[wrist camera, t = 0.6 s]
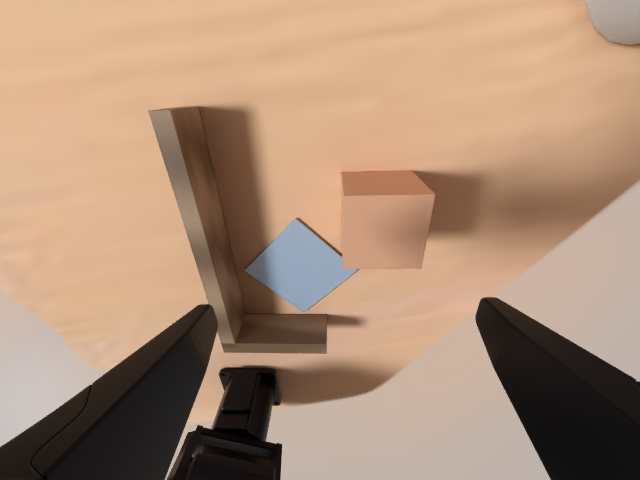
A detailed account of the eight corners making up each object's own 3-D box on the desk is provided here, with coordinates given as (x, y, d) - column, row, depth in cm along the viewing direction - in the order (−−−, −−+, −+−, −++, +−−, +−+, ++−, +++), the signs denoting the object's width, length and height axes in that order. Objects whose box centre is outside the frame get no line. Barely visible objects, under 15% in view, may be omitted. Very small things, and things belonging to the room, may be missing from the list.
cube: (403, 232, 21) (421, 268, 17) (340, 232, 22) (343, 269, 17) (411, 170, 19) (435, 194, 15) (341, 171, 19) (343, 195, 15)
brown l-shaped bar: (327, 323, 27) (326, 353, 24) (236, 322, 27) (224, 352, 24) (321, 102, 17) (319, 105, 14) (180, 107, 17) (148, 110, 14)
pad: (357, 269, 23) (357, 270, 23) (304, 311, 26) (303, 312, 26) (296, 217, 21) (296, 219, 21) (245, 269, 24) (244, 270, 24)
